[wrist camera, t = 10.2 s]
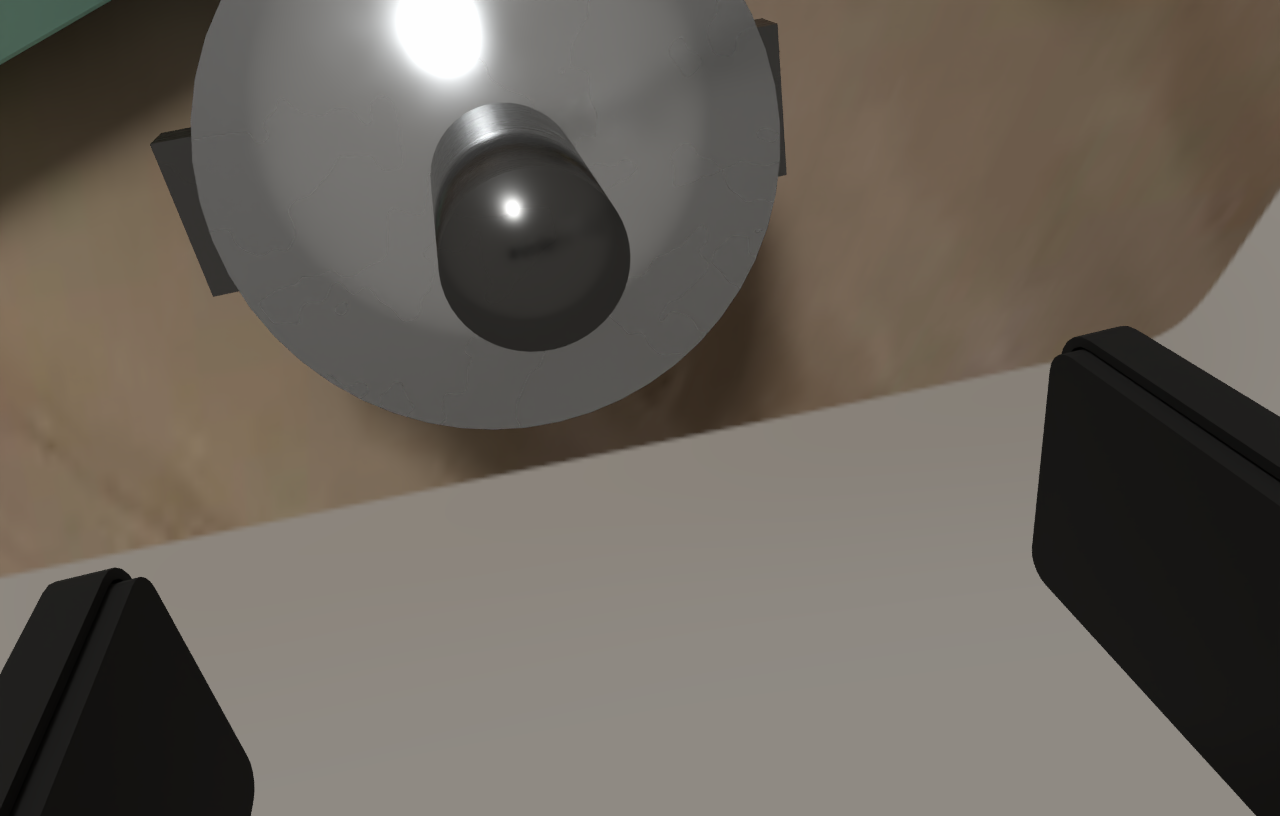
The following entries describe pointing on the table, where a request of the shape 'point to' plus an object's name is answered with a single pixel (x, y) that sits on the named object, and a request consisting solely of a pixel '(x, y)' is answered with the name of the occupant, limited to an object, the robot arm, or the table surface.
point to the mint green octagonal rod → (37, 21)
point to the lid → (486, 191)
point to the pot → (181, 183)
